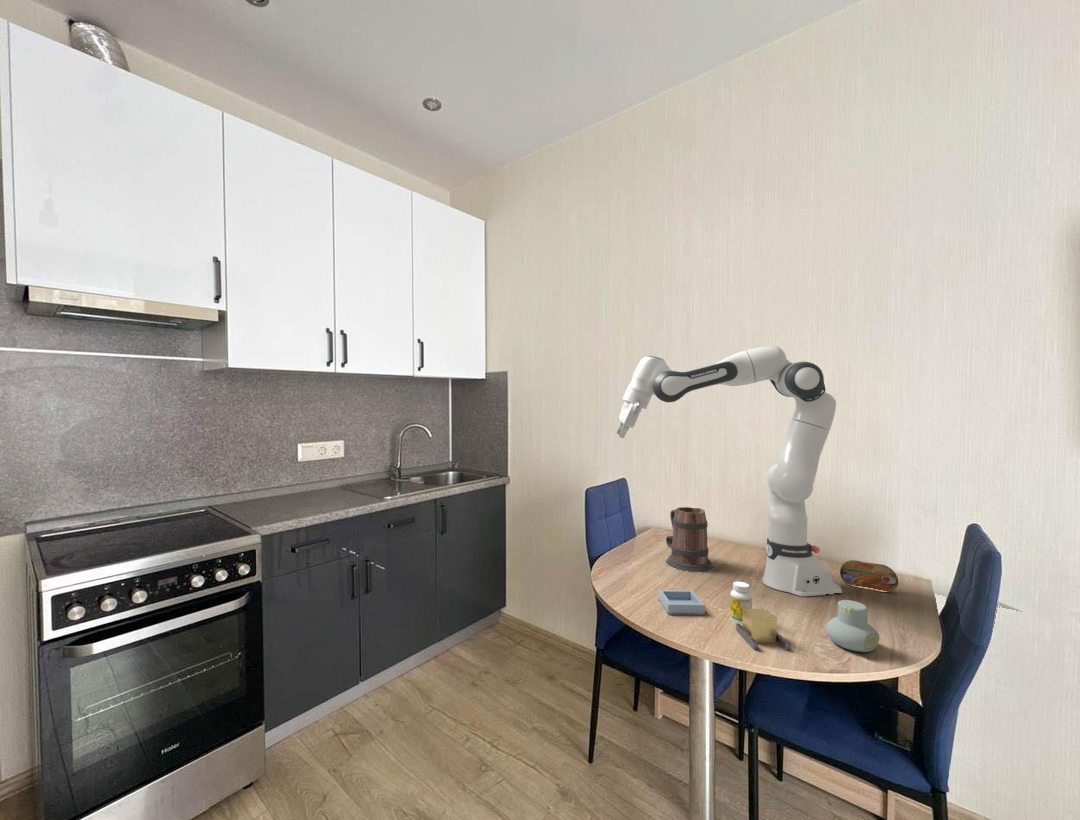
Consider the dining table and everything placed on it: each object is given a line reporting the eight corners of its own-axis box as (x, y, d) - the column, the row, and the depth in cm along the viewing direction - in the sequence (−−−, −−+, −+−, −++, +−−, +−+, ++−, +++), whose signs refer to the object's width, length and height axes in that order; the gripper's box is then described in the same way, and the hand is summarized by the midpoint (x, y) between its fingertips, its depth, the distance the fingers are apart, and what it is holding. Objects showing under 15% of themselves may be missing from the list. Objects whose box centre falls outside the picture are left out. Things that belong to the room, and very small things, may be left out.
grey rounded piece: (846, 633, 116) (847, 594, 116) (883, 648, 109) (884, 606, 109) (821, 643, 111) (821, 602, 111) (858, 660, 104) (858, 616, 104)
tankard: (724, 570, 161) (725, 513, 161) (680, 574, 157) (681, 515, 157) (687, 550, 183) (688, 500, 183) (648, 552, 179) (649, 501, 179)
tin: (839, 584, 149) (840, 559, 149) (839, 581, 152) (840, 556, 152) (898, 596, 141) (898, 568, 141) (897, 592, 144) (897, 565, 144)
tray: (692, 600, 135) (692, 590, 135) (704, 616, 125) (704, 605, 125) (658, 600, 135) (658, 589, 135) (668, 615, 125) (668, 604, 125)
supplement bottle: (755, 624, 120) (756, 588, 120) (734, 624, 120) (735, 587, 120) (746, 615, 126) (746, 580, 126) (726, 615, 126) (727, 580, 126)
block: (765, 632, 116) (766, 608, 116) (776, 642, 111) (776, 617, 111) (742, 632, 116) (742, 608, 116) (751, 642, 111) (751, 617, 111)
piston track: (757, 617, 125) (757, 610, 125) (793, 651, 107) (793, 643, 107) (719, 616, 125) (719, 609, 125) (749, 651, 107) (749, 642, 107)
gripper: (648, 404, 149) (631, 443, 150) (640, 402, 170) (625, 436, 171) (630, 397, 150) (613, 435, 151) (624, 395, 170) (609, 429, 171)
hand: (619, 435), depth 161 cm, fingers open, 8 cm apart
